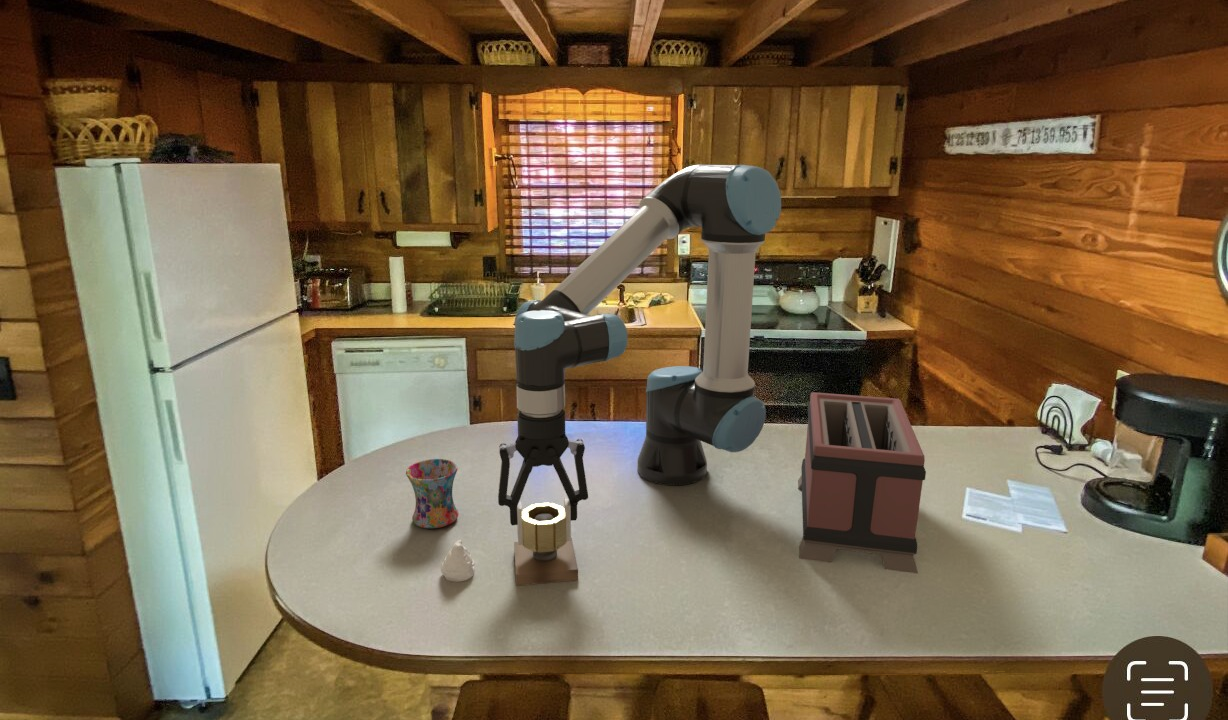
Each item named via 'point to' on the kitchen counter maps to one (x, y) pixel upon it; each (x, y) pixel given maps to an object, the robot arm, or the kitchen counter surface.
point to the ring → (544, 527)
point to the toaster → (860, 480)
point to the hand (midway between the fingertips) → (544, 538)
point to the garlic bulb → (458, 564)
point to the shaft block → (545, 562)
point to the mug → (433, 492)
